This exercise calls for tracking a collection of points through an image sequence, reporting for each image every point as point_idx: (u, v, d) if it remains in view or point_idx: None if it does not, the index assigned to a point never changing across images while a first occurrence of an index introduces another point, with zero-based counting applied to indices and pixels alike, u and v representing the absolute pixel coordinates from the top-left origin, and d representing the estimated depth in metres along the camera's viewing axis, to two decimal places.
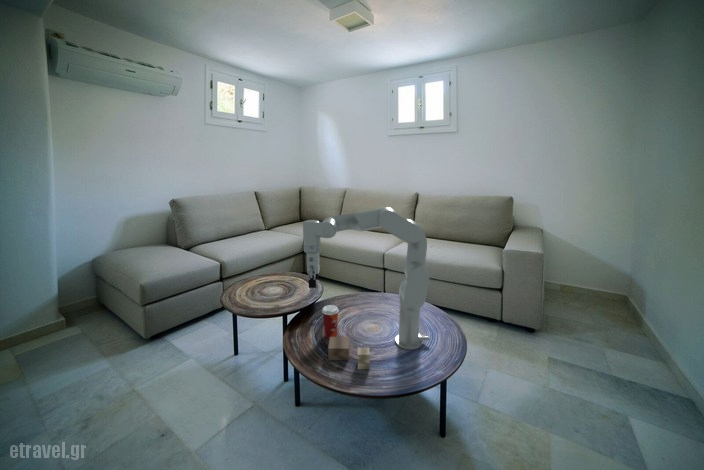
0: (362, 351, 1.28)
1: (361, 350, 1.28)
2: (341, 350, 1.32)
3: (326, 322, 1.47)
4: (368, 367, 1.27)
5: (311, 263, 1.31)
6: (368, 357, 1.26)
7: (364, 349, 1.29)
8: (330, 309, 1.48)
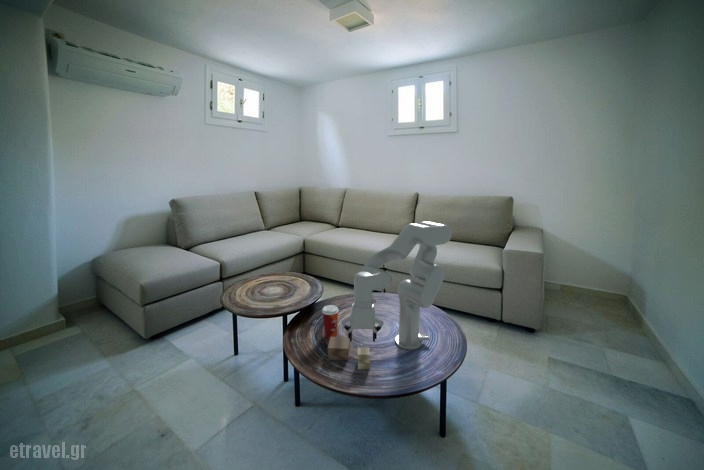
0: (362, 351, 1.28)
1: (361, 350, 1.28)
2: (341, 350, 1.32)
3: (326, 322, 1.47)
4: (368, 367, 1.27)
5: None
6: (368, 357, 1.26)
7: (364, 349, 1.29)
8: (330, 309, 1.48)
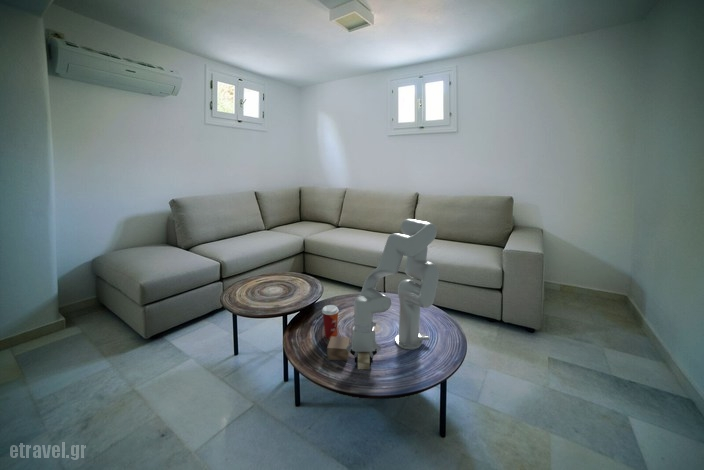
0: None
1: None
2: (340, 350, 1.32)
3: (326, 322, 1.47)
4: (368, 367, 1.27)
5: None
6: (368, 357, 1.26)
7: None
8: (330, 309, 1.48)
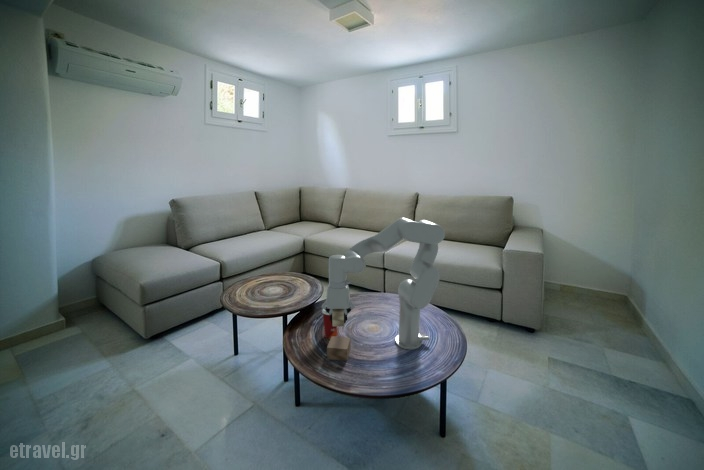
0: (336, 309, 1.32)
1: None
2: (340, 350, 1.32)
3: (326, 322, 1.47)
4: (342, 324, 1.31)
5: (349, 295, 1.31)
6: (342, 314, 1.30)
7: None
8: None
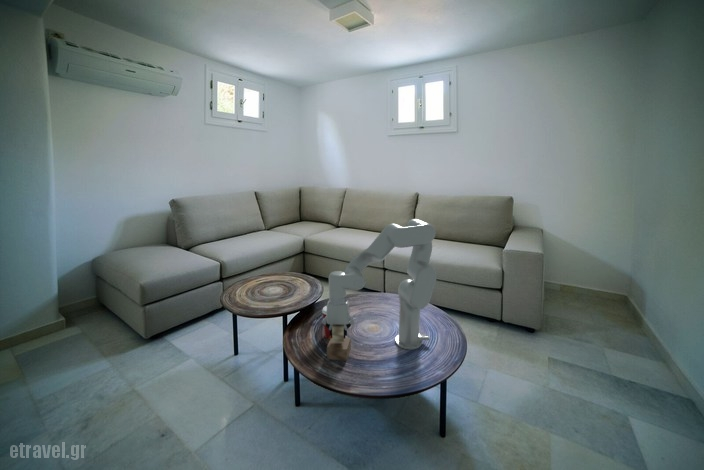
0: None
1: None
2: (339, 350, 1.32)
3: None
4: (342, 339, 1.33)
5: (349, 311, 1.33)
6: (342, 330, 1.32)
7: None
8: None
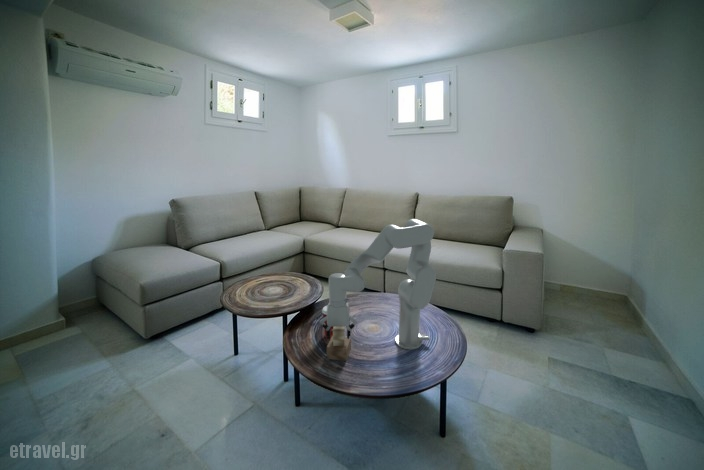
0: (337, 328, 1.34)
1: (336, 328, 1.35)
2: (339, 350, 1.32)
3: (326, 322, 1.47)
4: (343, 344, 1.34)
5: (349, 313, 1.33)
6: (343, 334, 1.32)
7: (340, 327, 1.36)
8: None
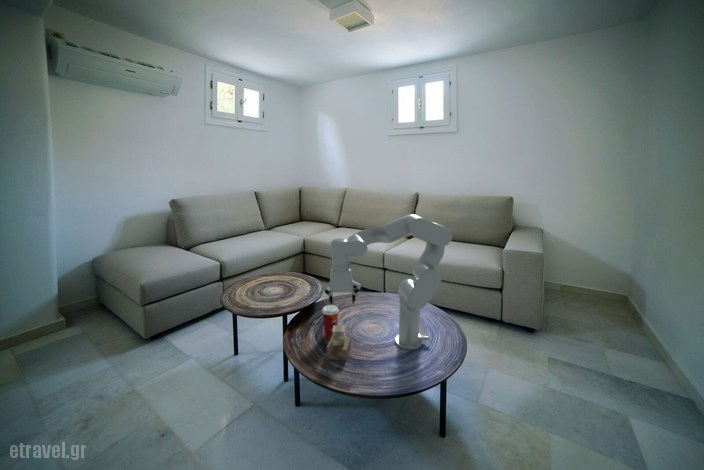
0: (337, 328, 1.35)
1: (336, 328, 1.35)
2: (339, 350, 1.32)
3: (326, 322, 1.47)
4: (343, 343, 1.34)
5: (352, 278, 1.33)
6: (342, 334, 1.33)
7: (339, 327, 1.36)
8: (330, 309, 1.48)
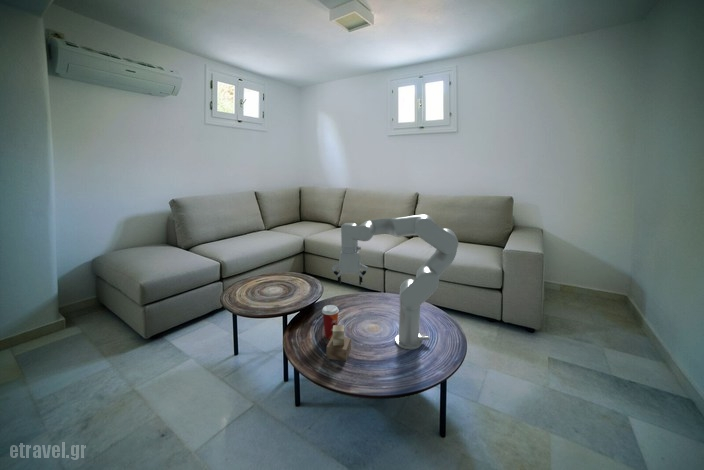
0: (337, 328, 1.35)
1: (336, 327, 1.35)
2: (339, 350, 1.32)
3: (326, 322, 1.47)
4: (343, 343, 1.34)
5: None
6: (342, 333, 1.33)
7: (339, 326, 1.36)
8: (330, 309, 1.48)
